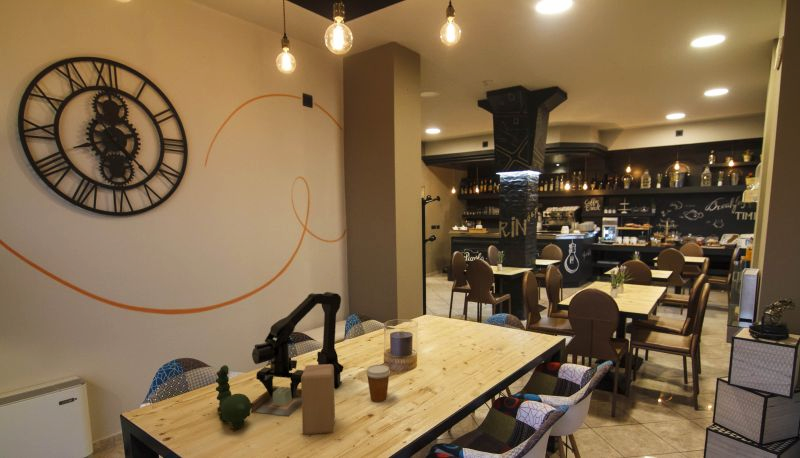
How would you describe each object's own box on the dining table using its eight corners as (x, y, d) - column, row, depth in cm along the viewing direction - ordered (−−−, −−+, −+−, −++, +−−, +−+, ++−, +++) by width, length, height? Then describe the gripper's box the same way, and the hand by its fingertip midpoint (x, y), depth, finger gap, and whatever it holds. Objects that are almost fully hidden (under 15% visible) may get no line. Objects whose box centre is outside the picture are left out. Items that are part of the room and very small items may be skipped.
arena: (307, 397, 158) (307, 389, 158) (288, 416, 143) (288, 407, 143) (273, 394, 162) (273, 385, 162) (251, 412, 147) (250, 403, 147)
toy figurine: (210, 417, 147) (229, 440, 128) (207, 365, 148) (226, 380, 129) (236, 409, 153) (259, 429, 134) (233, 359, 154) (255, 372, 135)
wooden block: (306, 420, 141) (305, 364, 140) (335, 418, 142) (333, 362, 141) (302, 435, 131) (300, 375, 130) (332, 433, 132) (331, 374, 131)
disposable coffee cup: (372, 406, 150) (371, 375, 149) (362, 396, 158) (362, 366, 158) (395, 400, 154) (394, 370, 154) (384, 391, 163) (383, 362, 162)
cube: (285, 406, 150) (284, 393, 150) (273, 405, 151) (272, 392, 151) (291, 400, 155) (291, 387, 154) (280, 399, 156) (279, 386, 156)
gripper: (313, 351, 158) (314, 389, 158) (271, 348, 162) (272, 386, 163) (299, 361, 147) (300, 402, 148) (254, 357, 151) (256, 398, 152)
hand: (282, 396), depth 153 cm, fingers open, 9 cm apart
